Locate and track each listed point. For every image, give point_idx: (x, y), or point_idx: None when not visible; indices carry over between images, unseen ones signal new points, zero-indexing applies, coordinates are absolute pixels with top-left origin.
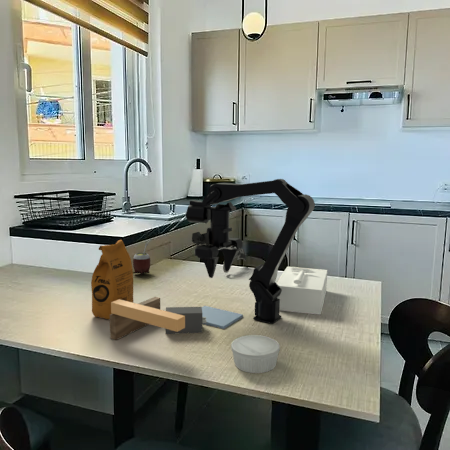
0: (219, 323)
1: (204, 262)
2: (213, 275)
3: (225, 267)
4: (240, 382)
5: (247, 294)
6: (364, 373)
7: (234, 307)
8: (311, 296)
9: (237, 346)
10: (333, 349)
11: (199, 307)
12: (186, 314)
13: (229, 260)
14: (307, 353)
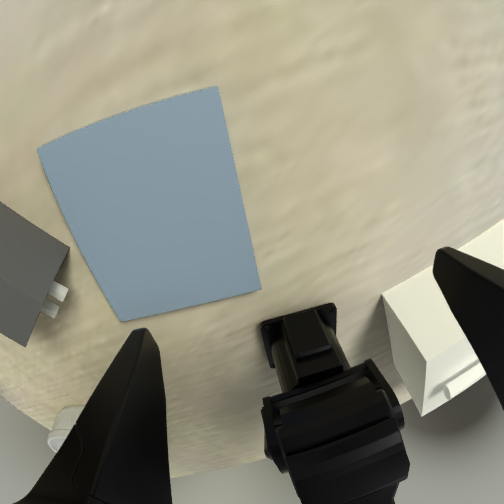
0: (122, 299)
1: (42, 487)
2: (160, 375)
3: (457, 270)
4: (50, 425)
5: (479, 123)
6: (215, 466)
7: (335, 178)
8: (413, 392)
9: (59, 442)
10: (250, 440)
11: (31, 305)
12: None
13: (496, 353)
14: (203, 436)
